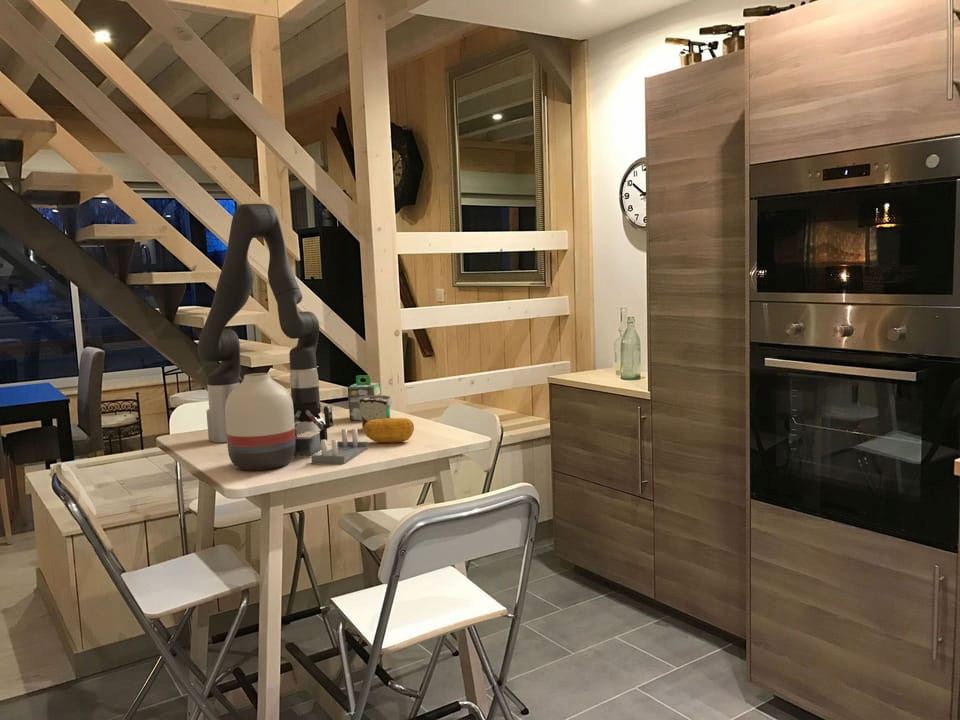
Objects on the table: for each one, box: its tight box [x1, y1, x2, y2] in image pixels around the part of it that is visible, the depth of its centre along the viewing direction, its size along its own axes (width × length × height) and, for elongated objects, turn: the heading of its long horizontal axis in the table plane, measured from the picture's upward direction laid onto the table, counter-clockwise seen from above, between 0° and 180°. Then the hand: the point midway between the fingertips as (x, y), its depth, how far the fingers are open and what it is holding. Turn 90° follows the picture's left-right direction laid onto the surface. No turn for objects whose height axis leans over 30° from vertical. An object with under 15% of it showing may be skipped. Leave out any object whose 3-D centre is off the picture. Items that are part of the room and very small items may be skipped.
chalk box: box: [347, 374, 381, 421], centre depth 261 cm, size 9×9×15 cm
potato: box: [363, 417, 415, 444], centre depth 222 cm, size 7×14×7 cm, turn 81°
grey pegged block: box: [310, 428, 369, 465], centre depth 207 cm, size 9×17×6 cm, turn 168°
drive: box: [293, 430, 321, 457], centre depth 213 cm, size 5×10×5 cm, turn 168°
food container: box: [358, 394, 394, 430], centre depth 243 cm, size 12×6×10 cm, turn 58°
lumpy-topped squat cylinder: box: [294, 415, 320, 433], centre depth 245 cm, size 10×13×9 cm
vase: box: [225, 372, 296, 471], centre depth 199 cm, size 17×17×24 cm
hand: (308, 443), depth 213 cm, fingers open, 8 cm apart
